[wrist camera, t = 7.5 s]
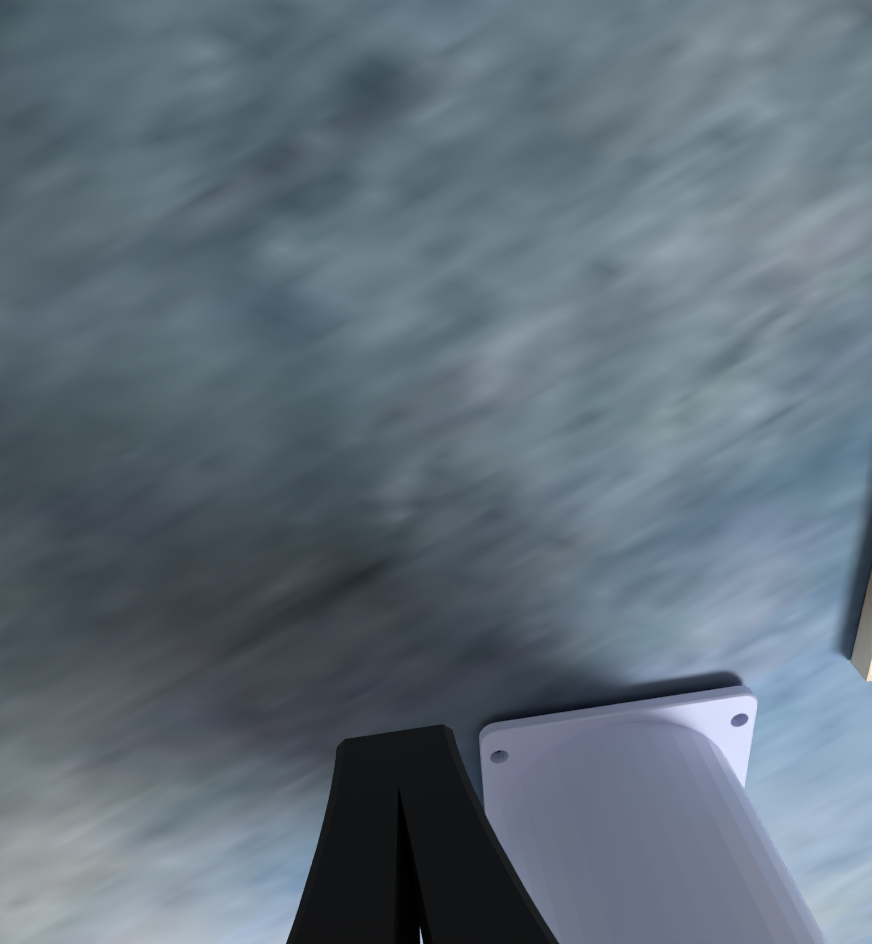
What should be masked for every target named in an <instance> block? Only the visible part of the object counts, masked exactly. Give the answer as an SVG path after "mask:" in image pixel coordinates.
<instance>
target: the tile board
mask: <svg viewBox="0 0 872 944" xmlns="http://www.w3.org/2000/svg"><path fill="white" fill-rule="evenodd" d="M851 663H852V665H853V666H854V667H855V668H856V670H857V671H858V672H859V673H860V674H861V676H862V677H863V678H864V679H865V681H866V682H867V681H872V570H871V574H870V579H869V583H868V587H867V592H866V596H865V601H864V605H863V609H862V614H861V618H860V623H859V627H858V631H857V636H856V640H855V645H854V649H853V653H852V658H851Z"/></svg>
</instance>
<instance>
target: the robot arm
mask: <svg viewBox="0 0 872 944" xmlns="http://www.w3.org/2000/svg"><path fill="white" fill-rule="evenodd" d="M757 704H758V703H757V698H756V697H755V695H754V693H753V692H752V691H751V689H750V688H748V687H746V686H733V687H726V688H720V689H713V690H707V691H700V692H693V693H687V694H680V695H673V696H667V697H660V698H654V699H647V700H640V701H634V702H627V703H620V704H614V705H607V706H601V707H594V708H587V709H581V710H574V711H568V712H561V713H554V714H548V715H541V716H534V717H528V718H521V719H515V720H508V721H501V722H495V723H492V724H489V725H487V726H486V727H484V728H483V729H482V731H481V732H480V735H479V745H480V758H481V771H482V784H483V797H484V810H485V812H484V810H483V808H482V806H481V804H480V802H479V800H478V797H477V795H476V793H475V791H474V789H473V786H472V784H471V782H470V779H469V777H468V775H467V772H466V770H465V767H464V765H463V762H462V759H461V757H460V754H459V751H458V748H457V745H456V742H455V738H454V734H453V731H452V730H451V729H450V728H448V727H447V726H445V725H443V724H442V725H435V726H429V727H422V728H415V729H409V730H402V731H395V732H389V733H382V734H376V735H369V736H362V737H356V738H349V739H345V740H344V741H343V742H342V743H341V744H340V745H339V746H338V747H337V751H336V760H335V768H334V774H333V779H332V785H331V790H330V795H329V800H328V804H327V809H326V813H325V817H324V821H323V825H322V829H321V833H320V837H319V840H318V844H317V848H316V852H315V855H314V858H313V861H312V865H311V868H310V871H309V875H308V878H307V881H306V885H305V888H304V891H303V894H302V898H301V901H300V904H299V908H298V911H297V914H296V917H295V920H294V923H293V926H292V929H291V931H290V934H289V937H288V940H287V942H286V944H420V929H421V934H422V939H423V944H828V943H827V941H826V939H825V937H824V935H823V934H822V932H821V930H820V928H819V926H818V924H817V922H816V921H815V919H814V917H813V915H812V913H811V911H810V910H809V908H808V906H807V904H806V902H805V900H804V899H803V897H802V895H801V893H800V891H799V889H798V887H797V886H796V884H795V882H794V880H793V878H792V876H791V875H790V873H789V871H788V869H787V867H786V865H785V864H784V862H783V860H782V858H781V856H780V854H779V853H778V851H777V849H776V847H775V845H774V843H773V841H772V840H771V838H770V836H769V834H768V832H767V830H766V829H765V827H764V825H763V823H762V821H761V819H760V818H759V816H758V814H757V812H756V810H755V808H754V807H753V805H752V803H751V801H750V799H749V797H748V795H747V794H746V792H745V790H744V787H745V780H746V774H747V767H748V761H749V755H750V748H751V742H752V736H753V729H754V723H755V717H756V710H757ZM737 714H738V715H737ZM735 715H736V716H735ZM499 750H500V751H501V752H498V753H494V752H496V751H499Z"/></svg>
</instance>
